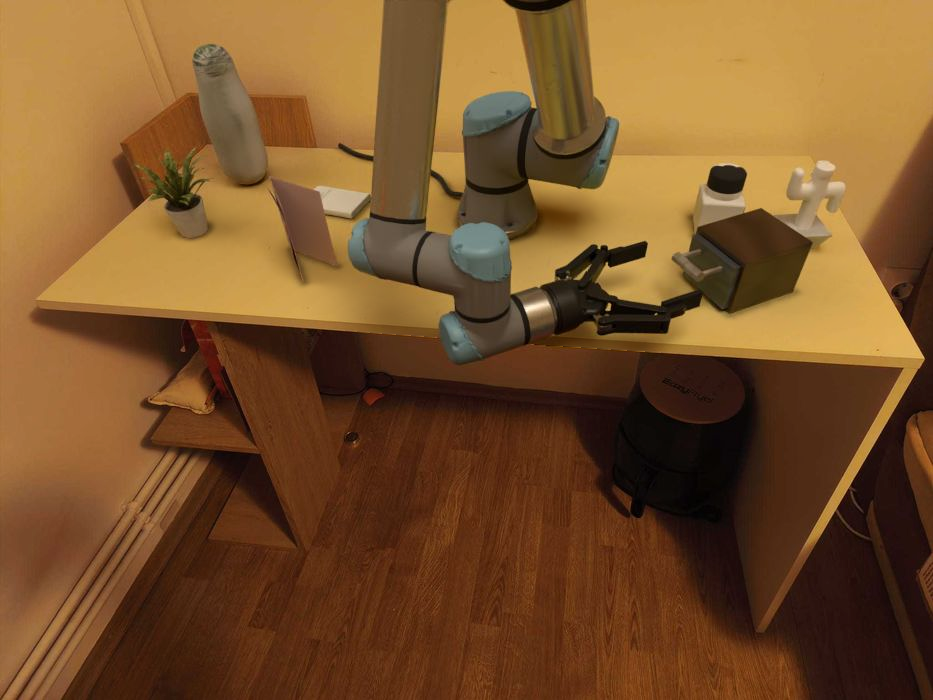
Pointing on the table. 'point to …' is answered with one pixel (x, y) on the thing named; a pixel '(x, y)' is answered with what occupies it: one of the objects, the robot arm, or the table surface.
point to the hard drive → (342, 201)
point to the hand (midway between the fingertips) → (671, 272)
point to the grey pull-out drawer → (709, 270)
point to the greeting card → (303, 221)
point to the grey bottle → (229, 116)
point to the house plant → (180, 195)
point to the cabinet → (759, 255)
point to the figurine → (813, 201)
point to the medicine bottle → (720, 195)
